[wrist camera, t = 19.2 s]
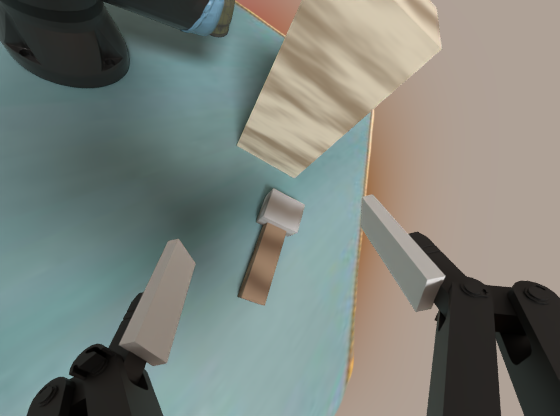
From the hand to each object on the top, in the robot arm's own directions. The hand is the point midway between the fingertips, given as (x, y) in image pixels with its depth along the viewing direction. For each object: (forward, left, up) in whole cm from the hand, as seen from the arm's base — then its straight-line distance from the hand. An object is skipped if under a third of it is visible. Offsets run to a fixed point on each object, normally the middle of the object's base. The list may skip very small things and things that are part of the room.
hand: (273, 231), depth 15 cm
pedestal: (-20, +18, -22) cm, 35 cm away
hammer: (0, +9, -22) cm, 24 cm away
